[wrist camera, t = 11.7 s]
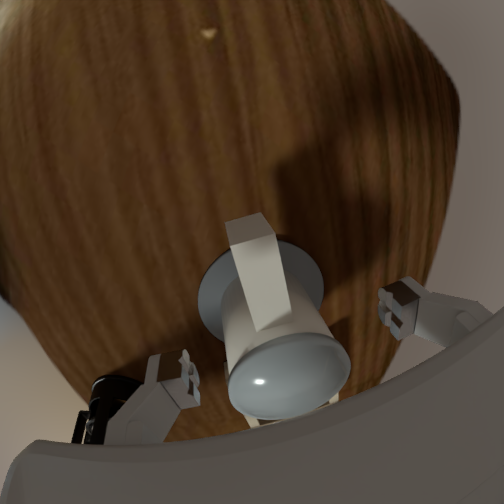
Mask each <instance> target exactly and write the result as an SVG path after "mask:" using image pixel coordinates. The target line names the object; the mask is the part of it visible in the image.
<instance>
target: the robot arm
mask: <svg viewBox="0 0 504 504" xmlns="http://www.w3.org/2000/svg"><path fill="white" fill-rule="evenodd" d="M378 297H379V298H380V299H381V301H380V302H379V304H378V313H379V317H380V319H381V321H382V322H383V324H384V325H386V326H389V327H390V332H391V333H392V334H393V335H394V336H395V338H396V339H397V340H401V339H403V338H405V337H407V336H409V335H411V334H413V333H414V334H415V335H417V336H420V337H422V338H425V339H427V340H429V341H432V342H434V343H436V344H439V345H441V346H444V347H446V348H445V349H444V350H442V351H441V352H439V353H438V354H436V355H434V356H433V357H431V358H429V359H427V360H426V361H424V362H422V363H420V364H419V365H417V366H415V367H413V368H411V369H409V370H407V371H406V372H404V373H402V374H400V375H398V376H396V377H394V378H392V379H390V380H388V381H386V382H384V383H382V384H379V385H377V386H375V387H373V388H371V389H368V390H366V391H364V392H362V393H359V394H357V395H355V396H352V397H350V398H347V399H345V400H342V401H340V402H337V403H334V404H332V405H329V406H326V407H324V408H321V409H318V410H315V411H312V412H309V413H306V414H303V415H300V416H297V417H293V418H290V419H287V420H283V421H280V422H276V423H273V424H269V425H265V426H261V427H257V428H253V429H248V430H244V431H239V432H235V433H230V434H224V435H219V436H213V437H207V438H201V439H194V440H186V441H177V442H168V443H163V440H164V439H165V437H166V435H167V434H168V432H169V430H170V428H171V427H172V425H173V423H174V421H175V420H176V418H177V416H178V415H179V413H180V411H181V410H180V409H185V408H191V407H196V406H200V393H199V391H198V389H197V387H198V386H199V376H198V372H197V369H196V367H195V365H194V363H192V362H190V361H189V354H188V352H187V351H186V350H185V349H182V350H177V351H172V352H167V353H162V354H157V355H152V356H150V357H149V360H148V365H147V371H146V376H145V382H144V385H141V386H140V387H139V388H138V389H137V390H136V391H135V392H134V394H133V395H132V396H131V397H130V398H129V399H128V400H127V401H126V403H125V404H124V405H123V406H122V407H121V408H120V409H119V411H118V412H117V413H116V414H115V415H114V416H113V417H112V418H111V420H110V421H109V422H108V426H107V431H106V436H105V441H104V445H92V444H75V443H63V442H54V441H47V440H35V441H34V442H32V443H31V444H30V445H28V446H27V447H26V448H25V449H24V450H23V451H22V452H21V453H20V454H19V455H18V456H17V457H16V458H15V459H14V460H13V462H12V464H11V465H10V468H9V470H8V473H7V476H6V479H5V482H4V485H3V489H2V492H1V496H0V504H504V307H502V308H501V309H500V310H499V311H498V312H496V313H495V314H494V315H493V314H492V313H491V312H490V311H489V310H487V309H486V308H485V307H484V306H482V305H481V304H480V303H479V302H477V301H472V300H468V299H463V298H459V297H454V296H449V295H444V294H440V293H435V292H432V293H430V292H429V291H427V290H426V289H425V288H424V287H422V286H421V285H420V284H419V283H417V282H416V281H415V280H414V279H412V278H411V277H409V276H407V277H405V278H402V279H400V280H398V281H396V282H394V283H391V284H389V285H387V286H384V287H382V288H379V291H378Z"/></svg>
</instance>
